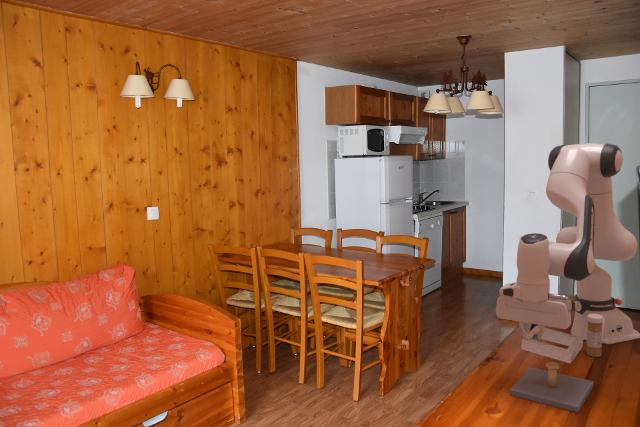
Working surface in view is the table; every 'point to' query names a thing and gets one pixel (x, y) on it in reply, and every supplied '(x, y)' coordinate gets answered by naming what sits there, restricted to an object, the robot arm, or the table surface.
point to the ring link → (551, 350)
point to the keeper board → (552, 388)
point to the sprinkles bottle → (594, 335)
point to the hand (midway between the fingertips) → (532, 337)
